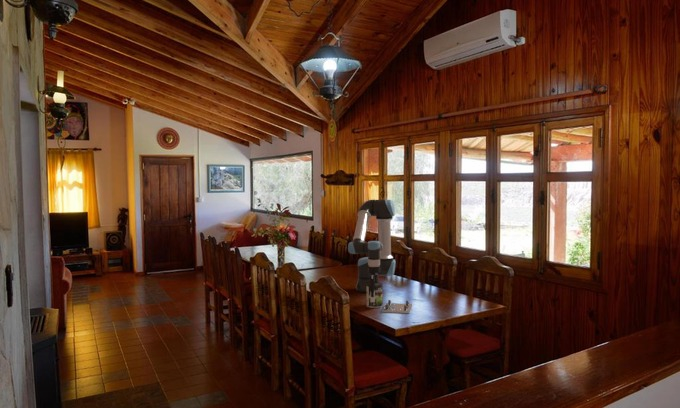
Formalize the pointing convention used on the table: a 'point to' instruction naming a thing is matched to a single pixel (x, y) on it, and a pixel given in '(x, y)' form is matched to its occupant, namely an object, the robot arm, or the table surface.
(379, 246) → the robot arm
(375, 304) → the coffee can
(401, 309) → the pin plate
